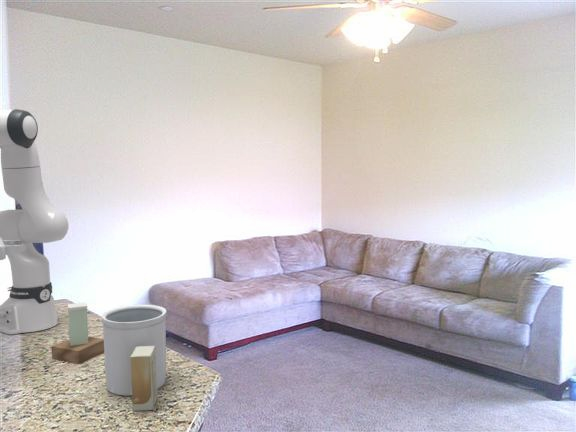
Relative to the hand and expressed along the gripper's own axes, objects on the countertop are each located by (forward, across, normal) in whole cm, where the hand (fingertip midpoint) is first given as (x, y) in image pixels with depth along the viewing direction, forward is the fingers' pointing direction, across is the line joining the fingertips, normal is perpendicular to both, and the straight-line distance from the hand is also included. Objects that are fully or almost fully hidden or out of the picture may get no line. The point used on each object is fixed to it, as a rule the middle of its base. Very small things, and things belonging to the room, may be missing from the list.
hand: (23, 245), depth 131 cm
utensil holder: (+20, -28, +32) cm, 47 cm away
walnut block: (+12, 0, +32) cm, 35 cm away
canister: (+12, 0, +28) cm, 31 cm away
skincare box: (+19, -40, +32) cm, 55 cm away
